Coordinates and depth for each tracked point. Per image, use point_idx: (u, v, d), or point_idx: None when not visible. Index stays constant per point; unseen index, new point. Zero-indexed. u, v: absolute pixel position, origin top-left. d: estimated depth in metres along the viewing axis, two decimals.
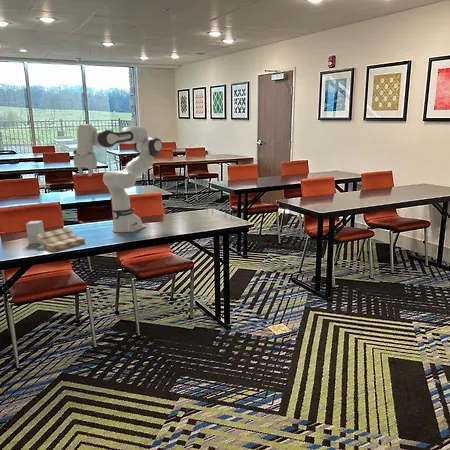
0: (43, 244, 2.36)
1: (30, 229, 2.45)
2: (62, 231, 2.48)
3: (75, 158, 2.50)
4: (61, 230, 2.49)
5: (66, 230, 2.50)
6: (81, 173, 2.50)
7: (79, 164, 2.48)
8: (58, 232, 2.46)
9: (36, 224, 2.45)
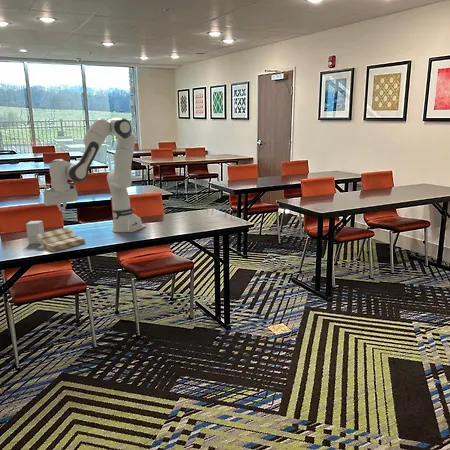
0: (43, 244, 2.36)
1: (31, 229, 2.45)
2: (62, 231, 2.48)
3: None
4: (61, 230, 2.49)
5: (66, 230, 2.50)
6: None
7: None
8: (58, 232, 2.46)
9: (36, 224, 2.45)
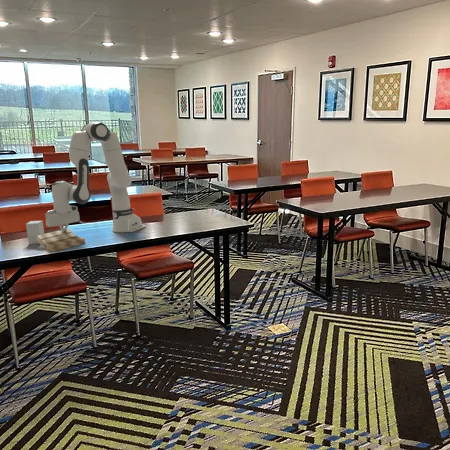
0: (43, 244, 2.36)
1: (30, 229, 2.45)
2: (62, 232, 2.49)
3: None
4: None
5: (66, 231, 2.51)
6: None
7: None
8: (58, 233, 2.47)
9: (36, 224, 2.45)
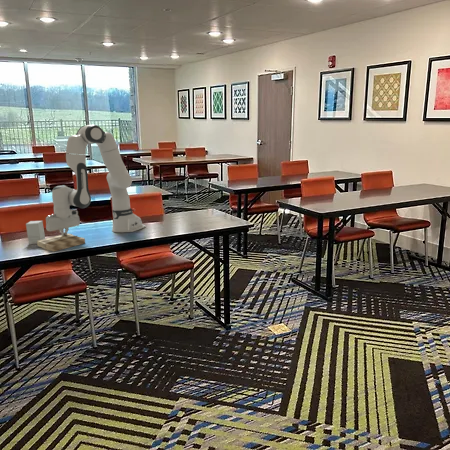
0: (44, 246, 2.36)
1: (30, 229, 2.45)
2: (62, 236, 2.50)
3: None
4: None
5: (66, 235, 2.52)
6: None
7: None
8: (58, 237, 2.48)
9: (36, 224, 2.45)
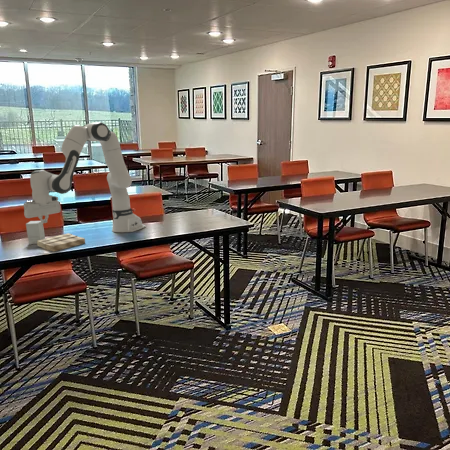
0: (44, 246, 2.36)
1: (30, 229, 2.45)
2: (62, 236, 2.50)
3: None
4: (61, 235, 2.50)
5: (66, 235, 2.52)
6: None
7: None
8: (58, 237, 2.48)
9: (36, 224, 2.45)
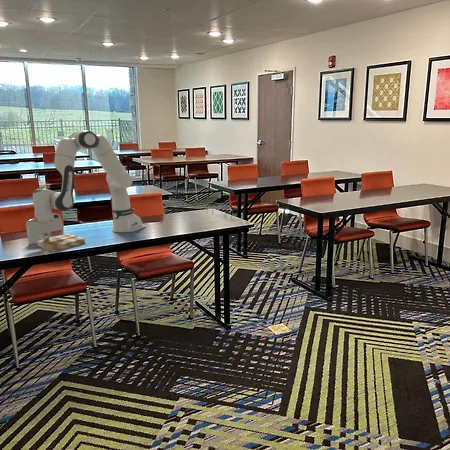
0: (44, 246, 2.36)
1: None
2: (62, 236, 2.50)
3: None
4: (61, 235, 2.50)
5: (66, 235, 2.52)
6: None
7: None
8: (58, 237, 2.48)
9: None
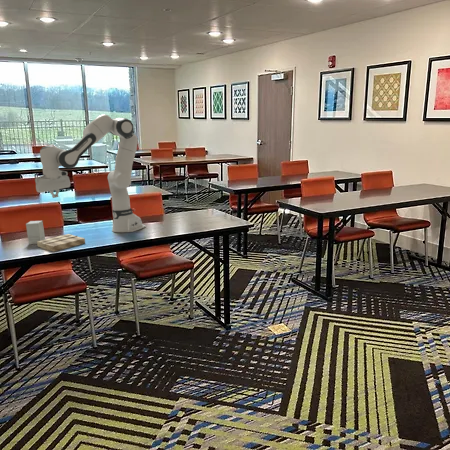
0: (44, 246, 2.36)
1: (30, 229, 2.45)
2: (62, 236, 2.50)
3: None
4: (61, 236, 2.50)
5: (66, 235, 2.52)
6: None
7: None
8: (58, 237, 2.48)
9: (36, 224, 2.45)
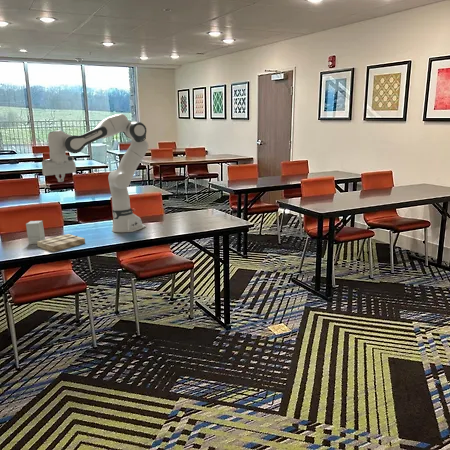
0: (44, 246, 2.36)
1: (30, 229, 2.45)
2: (62, 236, 2.50)
3: None
4: (61, 236, 2.50)
5: (66, 235, 2.52)
6: None
7: None
8: (58, 237, 2.48)
9: (36, 224, 2.45)
